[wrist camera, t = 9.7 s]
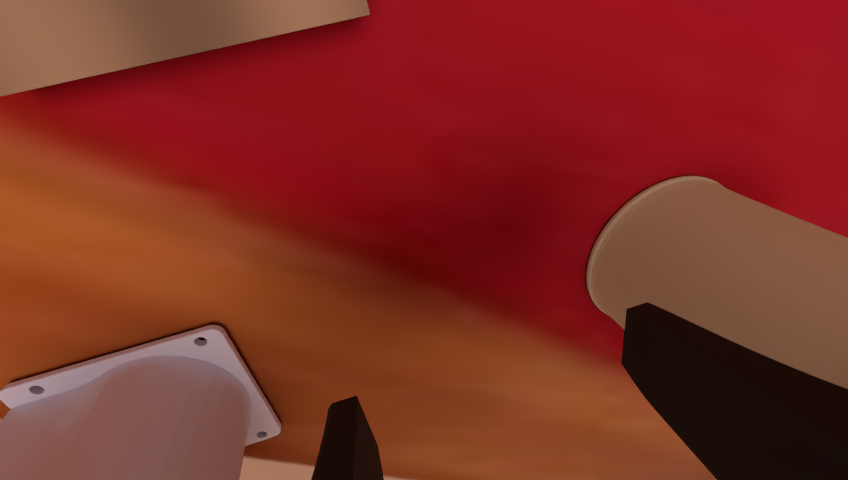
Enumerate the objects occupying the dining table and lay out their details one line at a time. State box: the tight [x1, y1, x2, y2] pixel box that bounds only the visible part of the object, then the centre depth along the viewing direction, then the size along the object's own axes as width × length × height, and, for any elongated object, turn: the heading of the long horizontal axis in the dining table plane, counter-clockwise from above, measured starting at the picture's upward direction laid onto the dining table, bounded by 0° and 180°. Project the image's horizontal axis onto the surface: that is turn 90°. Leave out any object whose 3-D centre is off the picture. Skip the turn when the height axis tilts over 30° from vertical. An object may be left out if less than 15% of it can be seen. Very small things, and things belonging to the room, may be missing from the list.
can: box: [586, 176, 848, 389], centre depth 17 cm, size 9×9×12 cm
